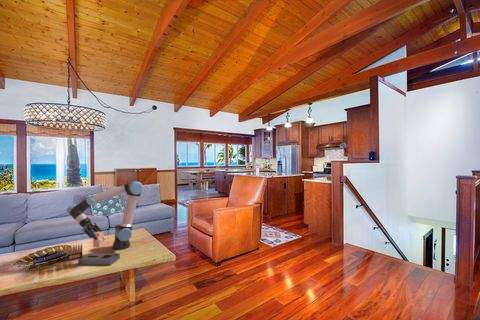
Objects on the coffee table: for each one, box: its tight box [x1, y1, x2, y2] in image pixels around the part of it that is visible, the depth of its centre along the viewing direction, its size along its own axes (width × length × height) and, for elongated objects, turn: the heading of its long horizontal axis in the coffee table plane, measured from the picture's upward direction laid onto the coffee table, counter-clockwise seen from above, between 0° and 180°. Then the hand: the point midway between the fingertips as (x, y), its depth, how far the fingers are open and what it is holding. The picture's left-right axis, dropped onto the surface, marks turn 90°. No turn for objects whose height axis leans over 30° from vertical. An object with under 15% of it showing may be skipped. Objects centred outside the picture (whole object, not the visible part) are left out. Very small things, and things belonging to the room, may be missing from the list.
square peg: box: [92, 231, 104, 248], centre depth 180 cm, size 5×5×11 cm
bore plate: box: [77, 252, 121, 266], centre depth 180 cm, size 13×26×4 cm, turn 89°
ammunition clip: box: [66, 243, 83, 262], centre depth 185 cm, size 11×2×12 cm, turn 128°
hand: (102, 240), depth 180 cm, fingers closed on square peg, 5 cm apart
